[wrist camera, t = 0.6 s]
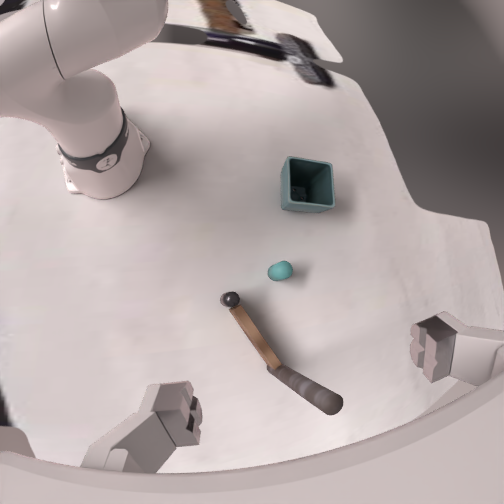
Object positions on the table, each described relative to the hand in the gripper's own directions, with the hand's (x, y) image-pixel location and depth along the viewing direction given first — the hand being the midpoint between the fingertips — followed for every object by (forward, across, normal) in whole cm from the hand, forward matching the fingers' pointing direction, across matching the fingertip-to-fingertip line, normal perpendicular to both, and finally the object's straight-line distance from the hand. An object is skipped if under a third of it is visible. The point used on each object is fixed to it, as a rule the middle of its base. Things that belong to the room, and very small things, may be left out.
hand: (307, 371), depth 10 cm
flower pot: (+51, -9, -1) cm, 52 cm away
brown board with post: (+38, +4, +21) cm, 44 cm away
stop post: (+44, -2, +11) cm, 46 cm away
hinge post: (+41, +7, +13) cm, 44 cm away
